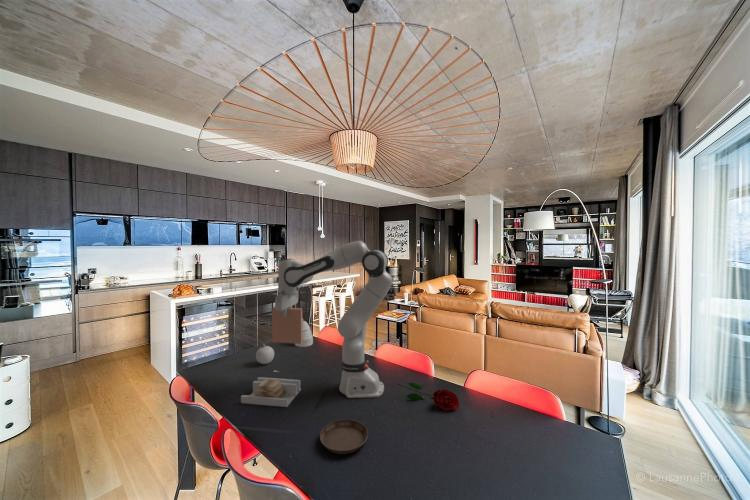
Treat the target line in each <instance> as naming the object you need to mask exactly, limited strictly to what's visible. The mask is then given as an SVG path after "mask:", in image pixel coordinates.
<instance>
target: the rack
mask: <svg viewBox="0 0 750 500" xmlns="http://www.w3.org/2000/svg"><path fill="white" fill-rule="evenodd" d="M264 380H277V381H281V386H283V391H285V397H284V398H273V397H261V396H255V395H256V391H257V390H258V385H260V384H261V383H262V382H263V381H264ZM301 390H302V388H301V379H293V378H292V379H291V378H289V379H288V378H277V377H276V378H275V377H265V376H264V377H261V376H258V377H257V378H256V380H253V382H252V393H251V394H249V395H247V394H245V395H244V394H242V395H241V396H240V403H241V404H248V405H257V406H258V405H259V406H271V407H280V408H281V407H283V408H288V407H289V406H290V404H291V403H292V402H293V400H294V399H295V398H296V396H297V395H298V394H299V393H300V392H301Z"/></svg>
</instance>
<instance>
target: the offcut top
mask: <svg viewBox="0 0 750 500" xmlns="http://www.w3.org/2000/svg"><path fill="white" fill-rule="evenodd" d="M280 386H281V381H277V380H264V381H263V382H262V383H261V384H260V385H258V391H264V392H275V391H276V390H277V389H278V388H279V387H280Z"/></svg>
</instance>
